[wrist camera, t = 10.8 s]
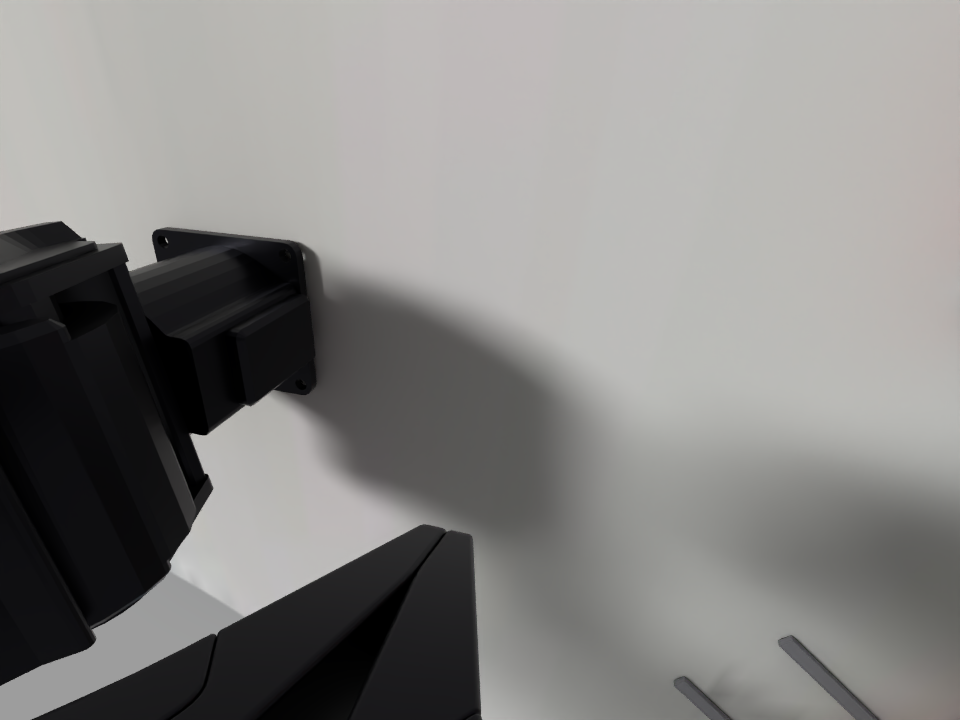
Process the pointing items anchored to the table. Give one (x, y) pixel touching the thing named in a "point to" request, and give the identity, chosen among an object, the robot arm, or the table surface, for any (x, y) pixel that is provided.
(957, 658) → the table surface
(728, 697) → the table surface
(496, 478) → the table surface
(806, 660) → the tray
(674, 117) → the table surface
